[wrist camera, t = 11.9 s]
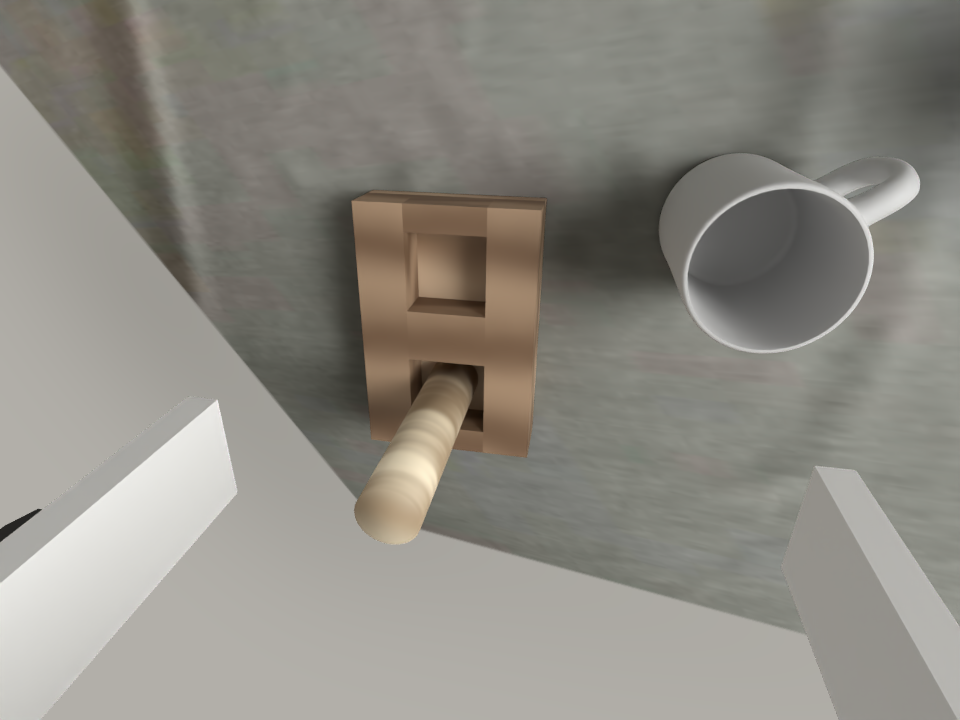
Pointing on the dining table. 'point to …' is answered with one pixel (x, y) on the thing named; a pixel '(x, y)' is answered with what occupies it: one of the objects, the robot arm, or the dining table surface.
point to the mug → (776, 245)
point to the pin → (416, 456)
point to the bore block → (451, 306)
